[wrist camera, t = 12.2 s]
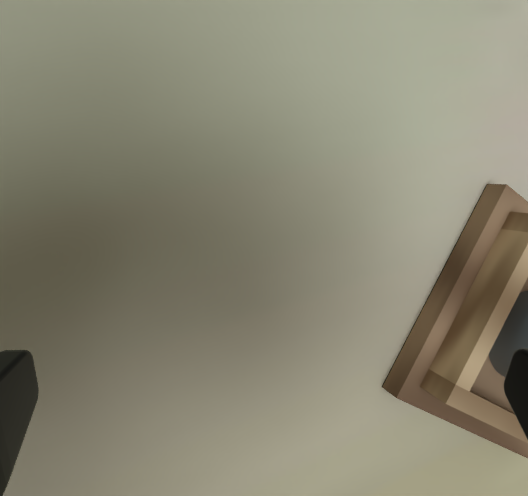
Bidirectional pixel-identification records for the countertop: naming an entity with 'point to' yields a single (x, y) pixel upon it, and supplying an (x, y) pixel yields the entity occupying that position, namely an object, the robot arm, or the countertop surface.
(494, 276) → the cradle
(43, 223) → the countertop surface
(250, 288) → the countertop surface
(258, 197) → the countertop surface
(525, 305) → the tall blue cylinder
